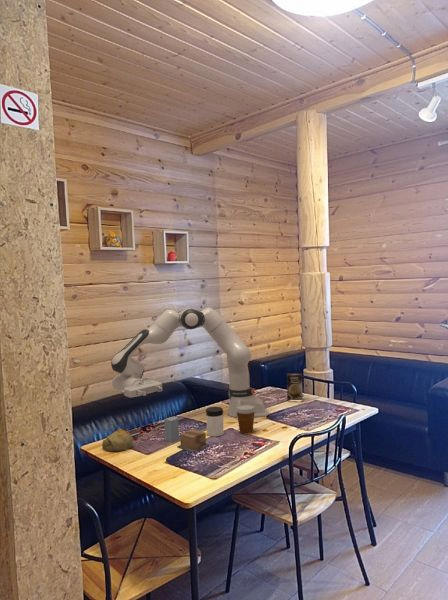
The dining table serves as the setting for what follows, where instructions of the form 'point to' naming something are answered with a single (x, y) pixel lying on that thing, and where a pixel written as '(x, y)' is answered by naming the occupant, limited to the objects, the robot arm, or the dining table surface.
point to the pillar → (171, 429)
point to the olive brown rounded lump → (118, 441)
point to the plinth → (193, 440)
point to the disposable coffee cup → (245, 418)
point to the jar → (214, 421)
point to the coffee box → (294, 386)
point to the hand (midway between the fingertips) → (153, 391)
